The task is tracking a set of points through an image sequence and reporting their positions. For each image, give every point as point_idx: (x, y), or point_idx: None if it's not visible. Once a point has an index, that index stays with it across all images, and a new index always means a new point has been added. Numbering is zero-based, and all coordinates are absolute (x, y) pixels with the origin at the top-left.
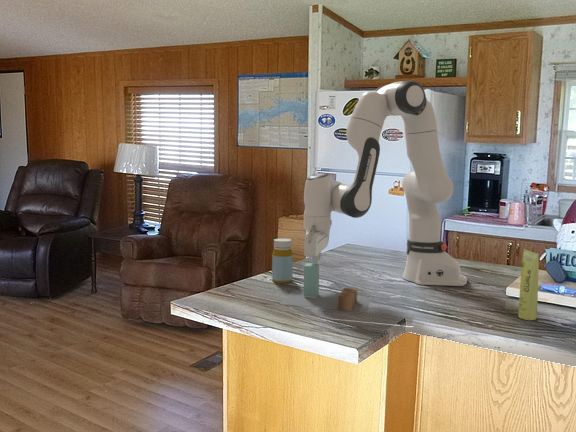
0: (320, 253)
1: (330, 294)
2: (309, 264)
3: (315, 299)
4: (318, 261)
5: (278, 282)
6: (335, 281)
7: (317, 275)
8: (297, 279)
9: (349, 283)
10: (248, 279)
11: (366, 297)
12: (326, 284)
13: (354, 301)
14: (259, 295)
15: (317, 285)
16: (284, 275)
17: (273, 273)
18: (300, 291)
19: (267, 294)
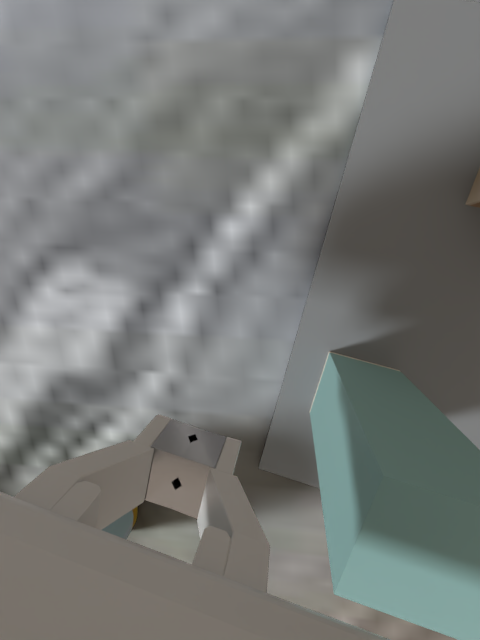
0: (84, 491)
1: (330, 285)
2: (413, 585)
3: (436, 374)
4: (206, 457)
5: (135, 520)
6: (41, 246)
7: (423, 429)
8: (47, 429)
9: (64, 165)
10: None
11: (400, 40)
12: (106, 297)
13: None
14: (330, 602)
15: (383, 386)
16: (115, 528)
17: None
18: (275, 437)
19: (312, 571)
